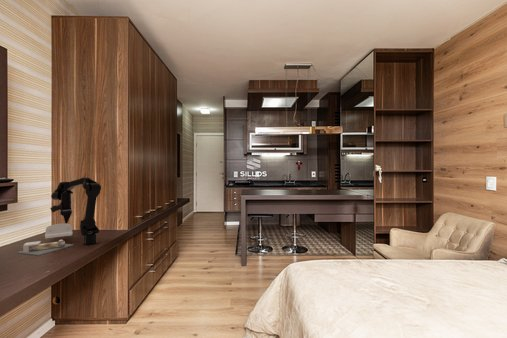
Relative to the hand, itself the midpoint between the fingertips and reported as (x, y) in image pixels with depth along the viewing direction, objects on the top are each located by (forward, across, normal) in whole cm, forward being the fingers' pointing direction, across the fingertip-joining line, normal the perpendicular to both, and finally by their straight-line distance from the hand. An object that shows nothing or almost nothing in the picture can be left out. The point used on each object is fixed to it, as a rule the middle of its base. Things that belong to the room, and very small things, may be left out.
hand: (66, 223), depth 183 cm
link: (+11, +17, -8) cm, 22 cm away
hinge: (+12, -22, -4) cm, 25 cm away
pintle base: (+12, +15, -10) cm, 22 cm away
